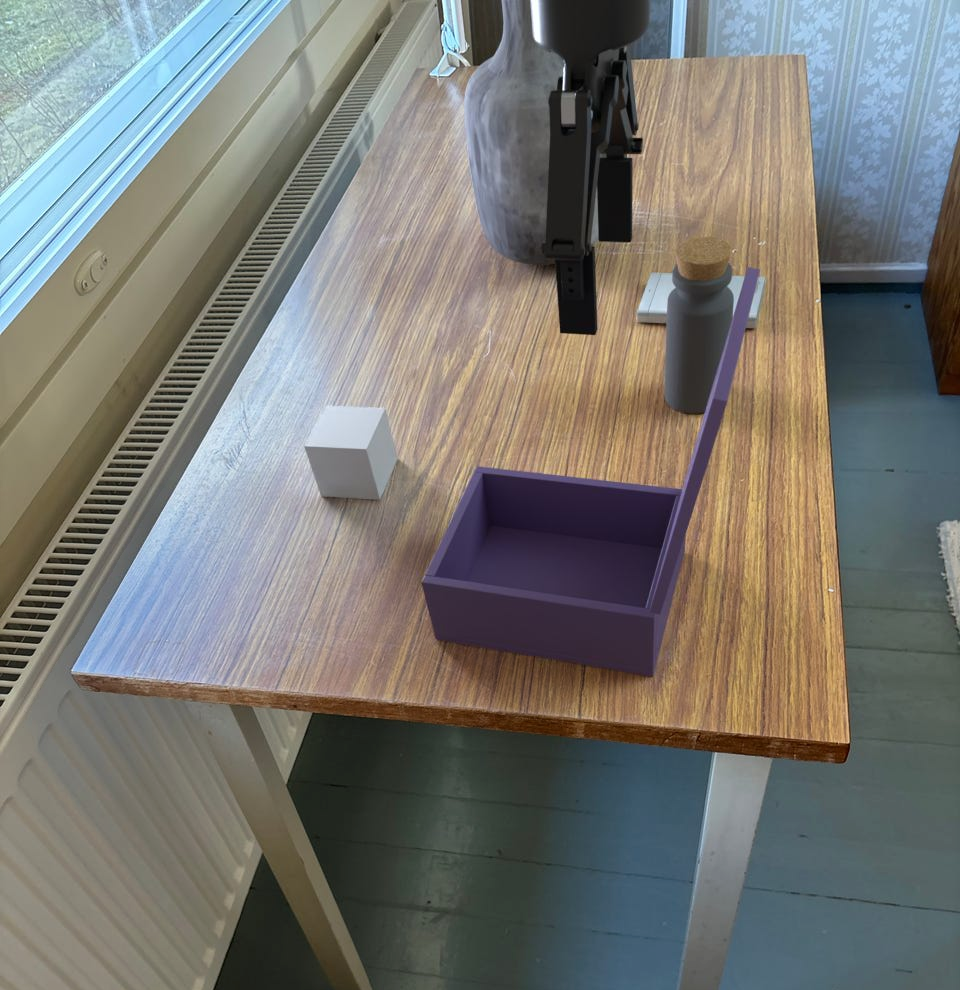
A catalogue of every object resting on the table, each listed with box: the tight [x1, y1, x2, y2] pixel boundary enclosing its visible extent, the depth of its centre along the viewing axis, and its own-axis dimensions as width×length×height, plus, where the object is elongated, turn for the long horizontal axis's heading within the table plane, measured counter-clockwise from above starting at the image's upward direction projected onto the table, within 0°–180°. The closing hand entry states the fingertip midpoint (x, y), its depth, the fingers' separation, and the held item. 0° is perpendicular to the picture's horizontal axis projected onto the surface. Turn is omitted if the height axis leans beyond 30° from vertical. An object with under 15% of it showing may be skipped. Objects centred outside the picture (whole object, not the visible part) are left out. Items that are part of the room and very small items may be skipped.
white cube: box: [303, 405, 399, 501], centre depth 87 cm, size 6×6×6 cm
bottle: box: [664, 236, 734, 415], centre depth 86 cm, size 6×6×15 cm
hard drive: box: [636, 272, 767, 329], centre depth 101 cm, size 2×8×12 cm
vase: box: [463, 0, 606, 266], centre depth 101 cm, size 16×16×30 cm
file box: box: [421, 465, 687, 678], centre depth 74 cm, size 18×14×7 cm
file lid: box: [650, 266, 761, 615], centre depth 61 cm, size 18×14×1 cm
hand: (598, 283), depth 74 cm, fingers open, 13 cm apart
